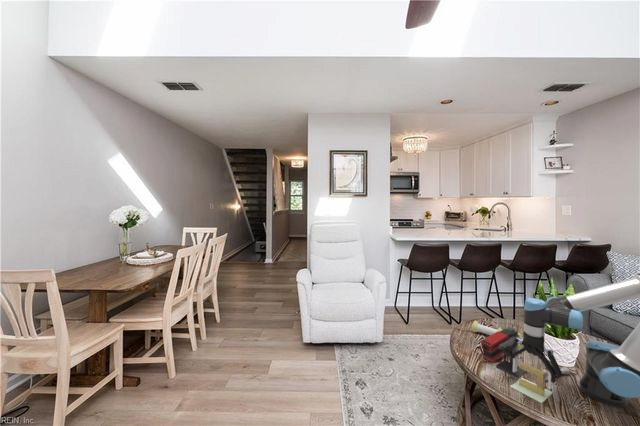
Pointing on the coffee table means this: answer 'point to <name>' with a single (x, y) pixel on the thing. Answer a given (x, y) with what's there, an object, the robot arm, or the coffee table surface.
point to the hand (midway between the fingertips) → (531, 379)
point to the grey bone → (563, 370)
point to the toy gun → (494, 340)
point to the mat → (531, 393)
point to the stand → (507, 365)
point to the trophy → (491, 331)
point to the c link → (540, 379)
